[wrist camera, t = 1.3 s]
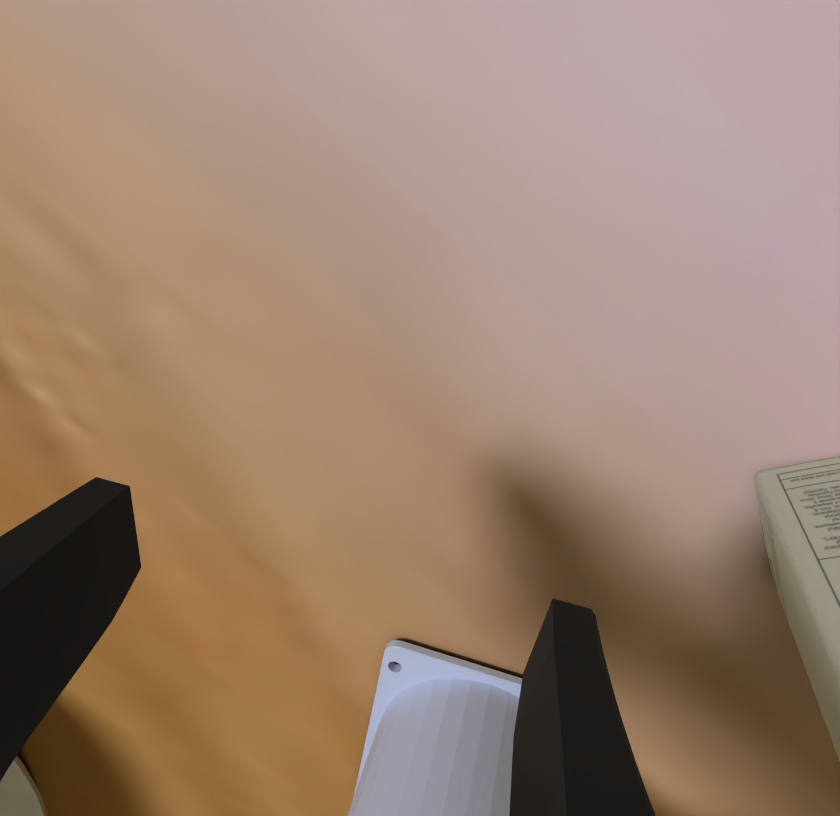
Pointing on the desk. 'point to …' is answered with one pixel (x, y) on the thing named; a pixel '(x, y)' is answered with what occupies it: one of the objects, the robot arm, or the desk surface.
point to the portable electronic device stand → (20, 793)
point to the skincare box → (808, 569)
